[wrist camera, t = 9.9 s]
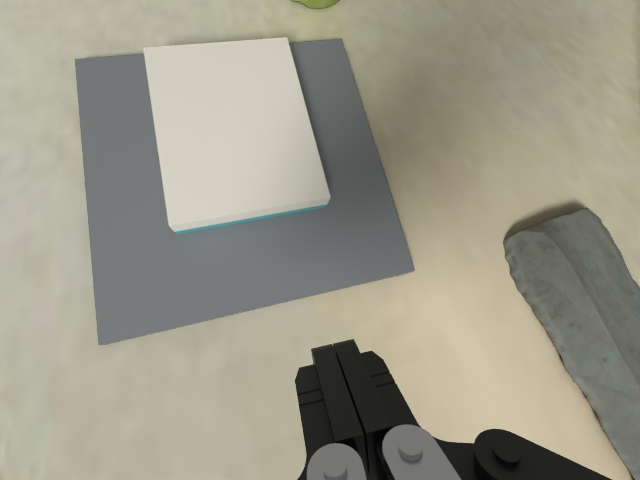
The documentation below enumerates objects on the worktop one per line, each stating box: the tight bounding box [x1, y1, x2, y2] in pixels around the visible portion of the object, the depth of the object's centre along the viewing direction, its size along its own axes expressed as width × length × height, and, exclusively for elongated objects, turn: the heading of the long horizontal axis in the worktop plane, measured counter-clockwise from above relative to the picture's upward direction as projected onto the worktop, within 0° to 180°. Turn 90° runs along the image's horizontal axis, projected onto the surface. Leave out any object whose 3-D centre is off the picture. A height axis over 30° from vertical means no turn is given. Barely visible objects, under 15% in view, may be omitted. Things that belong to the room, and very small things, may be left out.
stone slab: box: [503, 208, 640, 480], centre depth 24 cm, size 22×3×10 cm
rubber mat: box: [75, 39, 415, 345], centre depth 24 cm, size 20×20×1 cm
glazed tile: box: [143, 37, 330, 235], centre depth 23 cm, size 2×10×13 cm
